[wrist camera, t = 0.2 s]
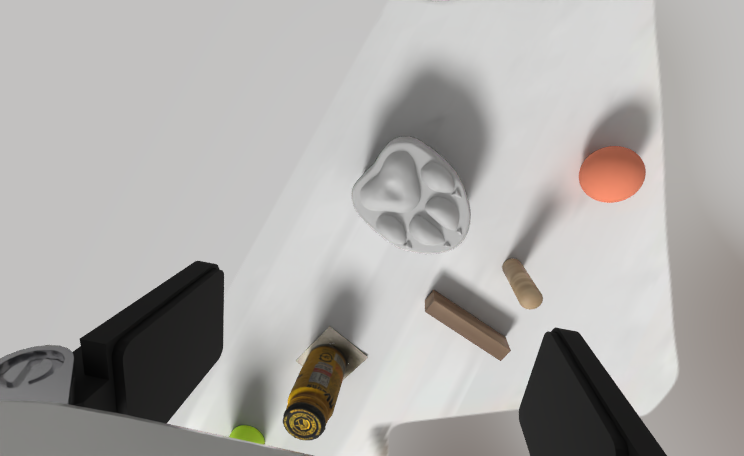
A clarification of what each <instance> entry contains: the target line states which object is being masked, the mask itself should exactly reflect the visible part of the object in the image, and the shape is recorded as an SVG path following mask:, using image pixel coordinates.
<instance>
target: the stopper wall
mask: <svg viewBox="0 0 744 456" xmlns="http://www.w3.org/2000/svg"><path fill="white" fill-rule="evenodd" d="M425 312H426V313H428V314H429V315H431V316H432V317H434V318H436V319H437V320H439V321H440V322H442V323H443V324H445V325H446V326H448V327H449V328H451V329H452V330H454V331H455V332H457V333H458V334H460V335H462V336H463V337H465V338H466V339H468V340H469V341H471V342H472V343H474V344H475V345H477V346H478V347H480V348H481V349H483V350H484V351H486V352H488V353H489V354H491V355H492V356H494V357H495V358H497V359H498V360H500V361H501V360H502V359H503V358H504V357H505V356H506V355H507V354H508V353H509V352H510V351H511V350H510V348H509V345H508V342H507V340H506V337H505V336H503V335H501V334H500V333H498V332H497V331H495V330H494V329H492V328H491V327H489V326H488V325H486V324H485V323H483V322H482V321H480V320H479V319H477V318H476V317H474V316H473V315H471V314H470V313H468V312H467V311H465V310H464V309H462V308H461V307H459V306H458V305H456V304H455V303H453V302H451V301H450V300H448V299H447V298H445V297H444V296H442V295H441V294H439V293H438V292H436V291H435V290H433V291H432V292H431V294H430V295H429V296H428V297H427V298H426V300H425Z"/></svg>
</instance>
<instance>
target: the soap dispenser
mask: <svg viewBox="0 0 744 456" xmlns="http://www.w3.org/2000/svg"><path fill="white" fill-rule="evenodd" d="M229 437H231V438H235V439H240V440H245V441H249V442H254V443H258V444H263V445H264V443H265V441H264V437H263V435H262V434H261V433H260V432H259V431H258V430H257V429H255V428H253V427H251V426H247V425H241V426H238V427H236V428H235V429H234V430H233V431H232V433H231V434H230V436H229Z"/></svg>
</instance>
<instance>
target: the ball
mask: <svg viewBox="0 0 744 456" xmlns="http://www.w3.org/2000/svg"><path fill="white" fill-rule="evenodd" d="M645 172H646V171H645V165H644V163H643V161H642V159H641V158H640V156H639V155H638V154H636V153H635V152H634V151H632V150H630V149H628V148H625V147H620V146H610V147H605V148H601V149H599V150H597V151H595V152H593V153H592V154H590V155H589V156H588V157H587V158H586V159H585V161H584V162H583V164H582V165H581V168H580V171H579V181H580V185H581V187H582V189H583V190H584V192H585V193H586V194H587V195H588V196H590V197H591V198H593V199H595V200H597V201H601V202H607V203H613V202H619V201H622V200H625V199H627V198H629V197H631V196H632V195H634V194H635V193H636V192H637V191H638V190H639V189H640V187H641V186H642V184H643V182H644V179H645Z"/></svg>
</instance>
